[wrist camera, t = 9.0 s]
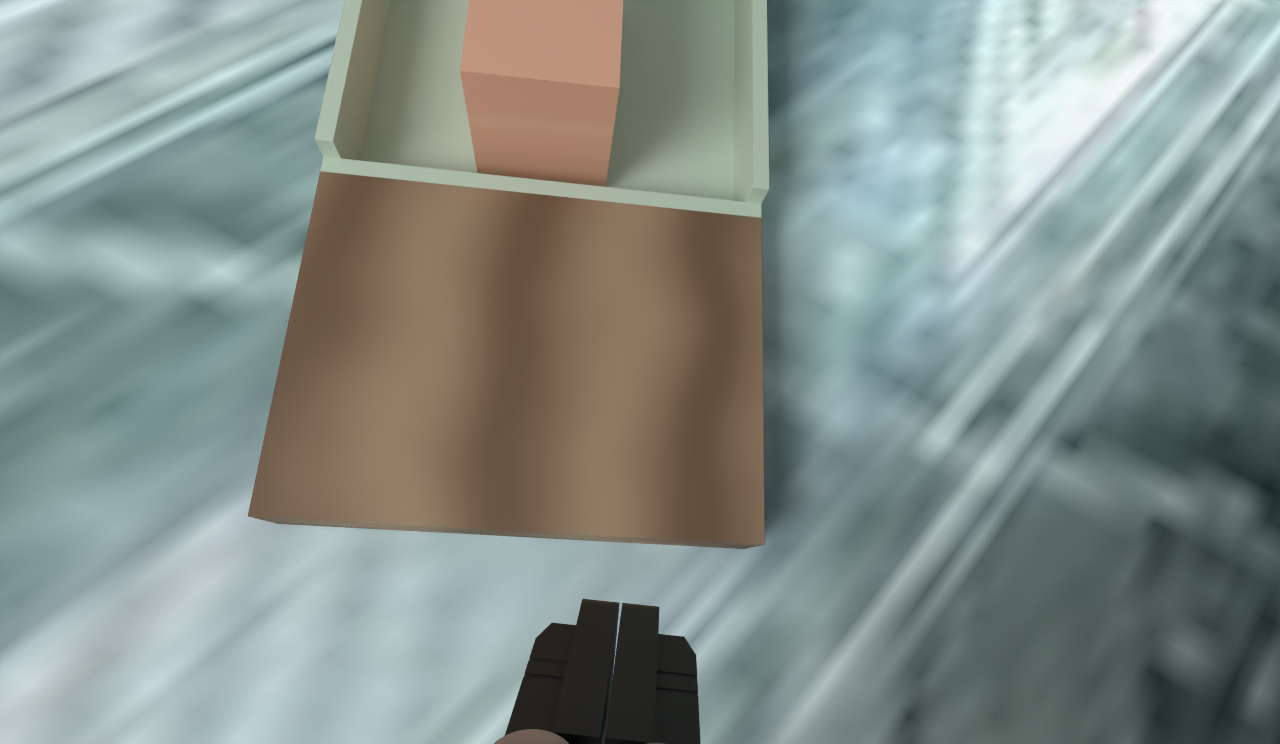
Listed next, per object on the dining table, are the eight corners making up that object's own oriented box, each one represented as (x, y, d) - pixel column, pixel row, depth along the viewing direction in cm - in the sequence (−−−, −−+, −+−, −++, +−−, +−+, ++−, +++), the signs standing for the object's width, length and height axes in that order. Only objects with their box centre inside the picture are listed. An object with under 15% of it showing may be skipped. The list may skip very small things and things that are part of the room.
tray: (743, -29, 33) (769, -109, 29) (743, 248, 29) (773, 196, 25) (396, -79, 31) (375, -171, 28) (340, 207, 27) (306, 145, 23)
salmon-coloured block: (604, 189, 28) (613, 10, 31) (619, 88, 22) (628, -121, 25) (478, 177, 27) (498, -4, 30) (460, 70, 22) (486, -141, 24)
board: (743, 248, 29) (761, 217, 26) (744, 548, 25) (764, 544, 23) (340, 207, 27) (320, 171, 25) (278, 523, 23) (247, 516, 21)
